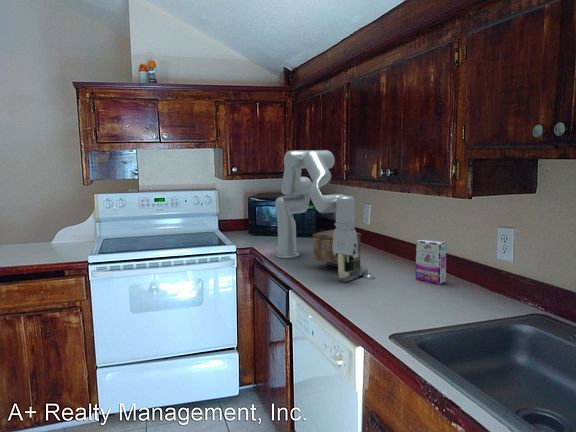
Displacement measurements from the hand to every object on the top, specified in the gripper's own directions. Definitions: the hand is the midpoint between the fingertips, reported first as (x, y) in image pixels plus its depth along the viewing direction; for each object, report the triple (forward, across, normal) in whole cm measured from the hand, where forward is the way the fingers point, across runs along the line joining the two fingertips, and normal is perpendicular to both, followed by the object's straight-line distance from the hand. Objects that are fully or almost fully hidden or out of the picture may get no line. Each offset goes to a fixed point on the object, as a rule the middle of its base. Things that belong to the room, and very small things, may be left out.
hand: (345, 270), depth 177 cm
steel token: (+5, +4, +10) cm, 12 cm away
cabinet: (+5, -16, +14) cm, 22 cm away
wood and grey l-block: (+4, 0, +5) cm, 6 cm away
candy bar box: (+5, +26, +22) cm, 34 cm away
